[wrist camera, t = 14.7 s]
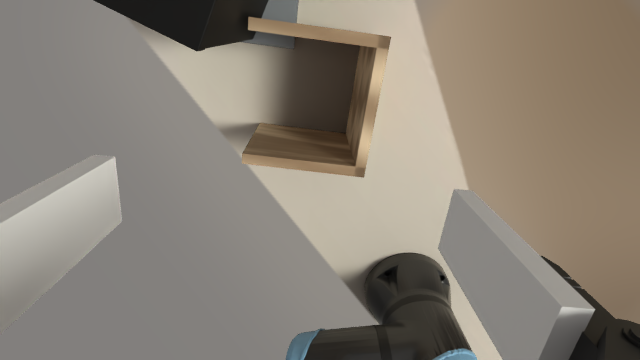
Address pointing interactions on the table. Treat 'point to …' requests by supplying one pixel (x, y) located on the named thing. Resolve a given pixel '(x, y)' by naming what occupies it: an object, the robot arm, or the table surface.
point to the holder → (316, 145)
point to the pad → (278, 9)
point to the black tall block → (194, 19)
